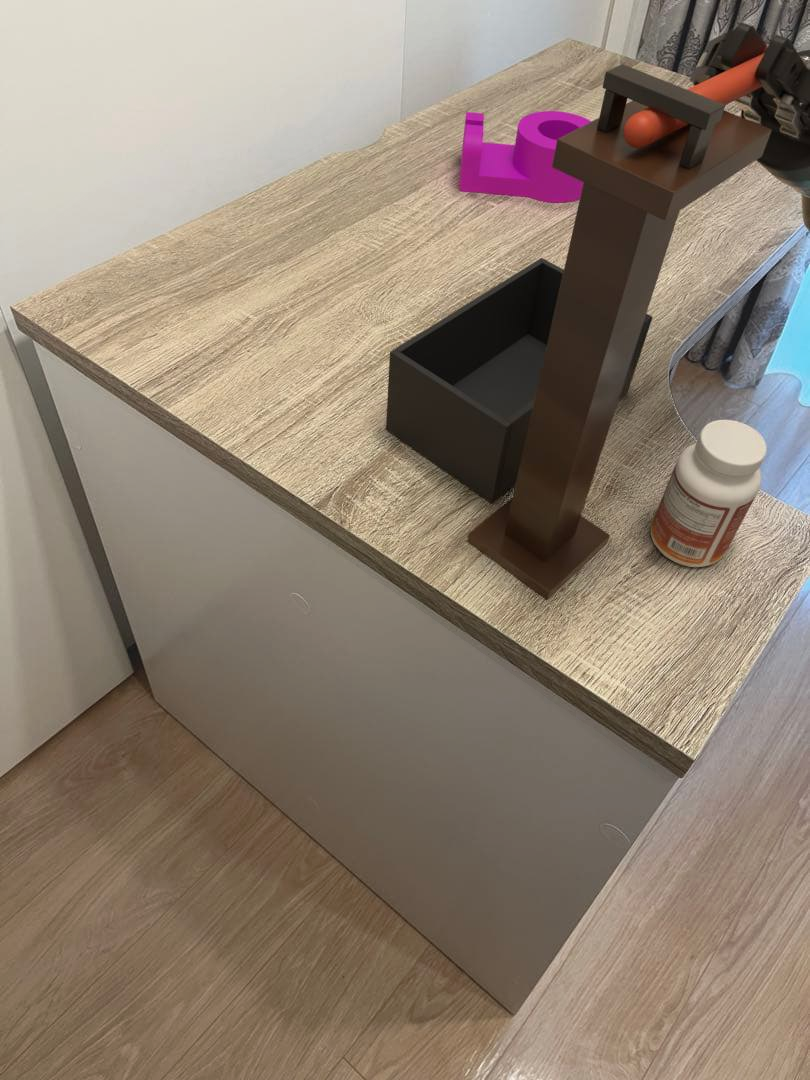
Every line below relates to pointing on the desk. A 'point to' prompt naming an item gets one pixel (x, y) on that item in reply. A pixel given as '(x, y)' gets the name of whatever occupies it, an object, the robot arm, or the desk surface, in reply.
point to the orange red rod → (718, 88)
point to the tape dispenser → (520, 159)
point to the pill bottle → (709, 494)
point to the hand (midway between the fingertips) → (753, 50)
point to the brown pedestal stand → (605, 308)
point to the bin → (480, 380)
